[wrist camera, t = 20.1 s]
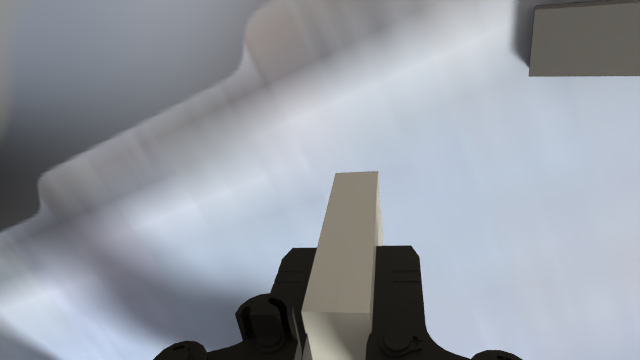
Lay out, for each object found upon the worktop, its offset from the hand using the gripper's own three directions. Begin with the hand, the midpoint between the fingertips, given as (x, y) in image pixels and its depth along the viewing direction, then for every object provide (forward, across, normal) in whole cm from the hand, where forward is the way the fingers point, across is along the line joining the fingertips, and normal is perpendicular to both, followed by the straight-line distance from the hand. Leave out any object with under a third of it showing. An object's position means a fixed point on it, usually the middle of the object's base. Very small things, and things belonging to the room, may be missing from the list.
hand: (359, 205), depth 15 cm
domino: (+24, +12, 0) cm, 26 cm away
